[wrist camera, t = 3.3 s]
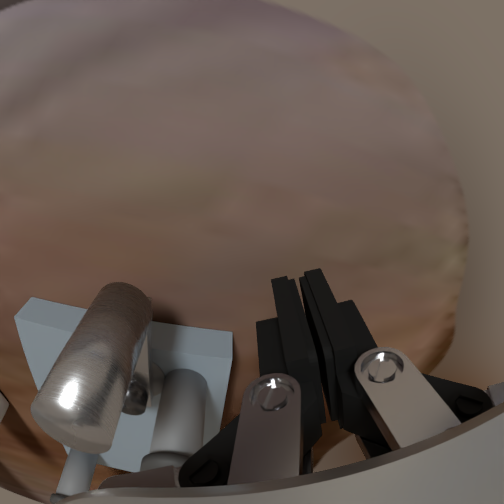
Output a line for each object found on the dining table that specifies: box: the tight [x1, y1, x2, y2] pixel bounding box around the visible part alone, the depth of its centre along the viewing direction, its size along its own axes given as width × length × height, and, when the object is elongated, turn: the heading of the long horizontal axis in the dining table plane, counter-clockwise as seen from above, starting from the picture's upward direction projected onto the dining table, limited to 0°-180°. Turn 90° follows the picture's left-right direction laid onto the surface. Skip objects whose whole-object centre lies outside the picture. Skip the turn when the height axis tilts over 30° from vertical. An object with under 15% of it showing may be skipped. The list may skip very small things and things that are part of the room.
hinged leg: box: [31, 282, 154, 454], centre depth 12 cm, size 8×3×8 cm, turn 171°
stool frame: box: [14, 297, 232, 504], centre depth 18 cm, size 17×14×9 cm
